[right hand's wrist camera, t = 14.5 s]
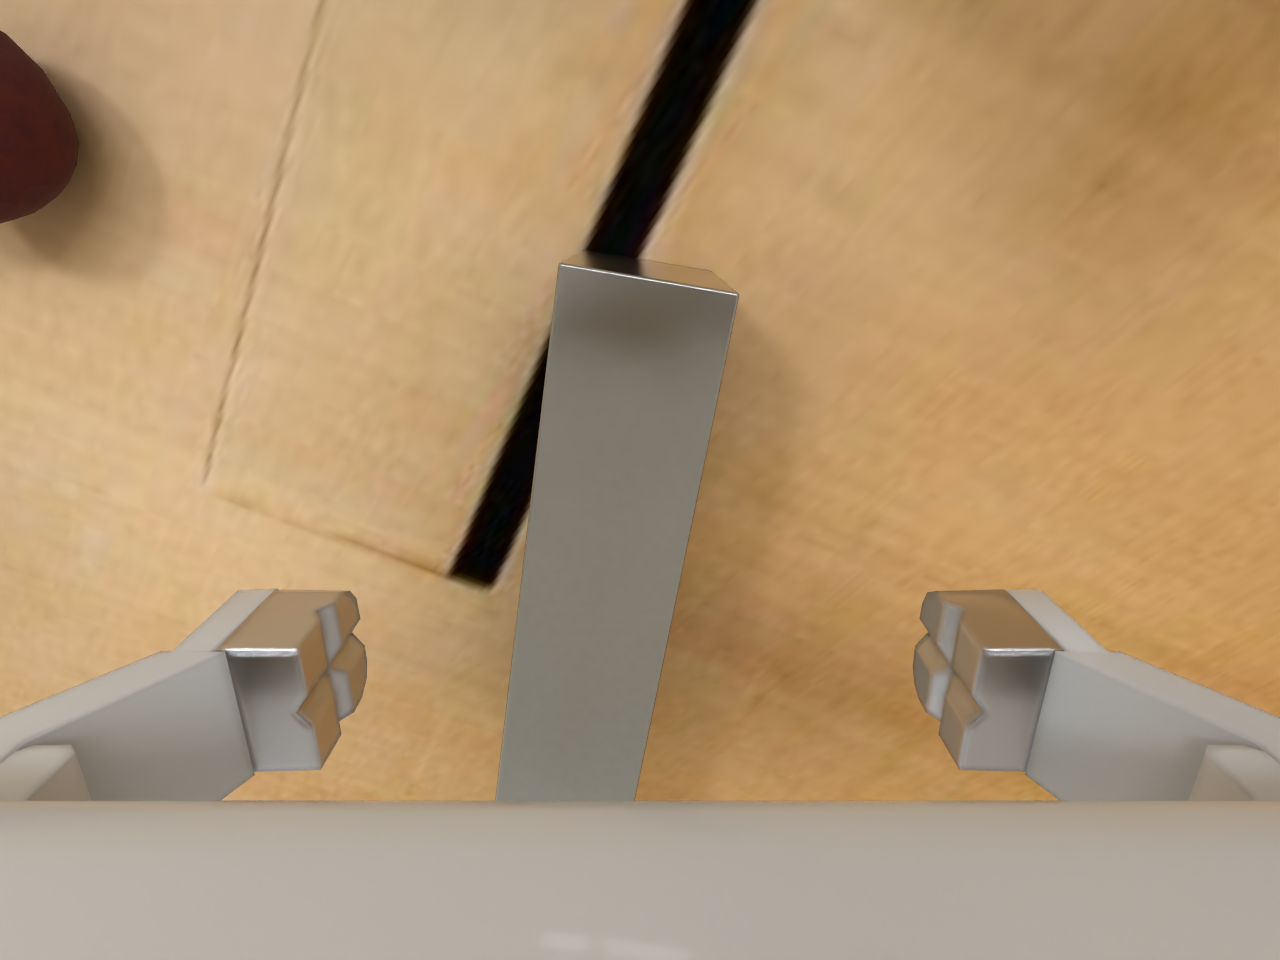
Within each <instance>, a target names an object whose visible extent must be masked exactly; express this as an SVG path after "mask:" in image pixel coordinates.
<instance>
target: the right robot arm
mask: <svg viewBox="0 0 1280 960" xmlns="http://www.w3.org/2000/svg"><path fill="white" fill-rule="evenodd" d="M359 620H360V615H359V610H358V605H357V599H356V597H355V596H354V595H353V594H352V593H351V592H350V591H329V590H278V589H253V590H240V591H237V592H236V593H235V594H234V595H233V596H232V597H231V598H230V599H228V600H227V601H226V602H225V603H224V604H223V605H222V606H221V607H220V608H219V609H218V610H217V611H215V612H214V613H213V614H212V615H211V616H210V617H209V618H208V619H207V620H206V621H205V622H204V623H203V624H201V625H200V626H199V627H198V628H197V629H196V630H195V631H194V632H193V633H192V634H191V635H190V636H188V637H187V638H186V639H185V640H184V641H183V642H182V643H181V644H180V645H179V646H178V647H177V648H175V649H174V650H173V651H160V652H158V653H155V654H153V655H151V656H148V657H146V658H143V659H141V660H138V661H136V662H133V663H131V664H129V665H126V666H124V667H121V668H119V669H116V670H114V671H112V672H109V673H107V674H104V675H102V676H99V677H97V678H95V679H92V680H90V681H87V682H85V683H82V684H80V685H77V686H75V687H73V688H70V689H68V690H65V691H63V692H60V693H58V694H56V695H53V696H51V697H48V698H46V699H43V700H41V701H38V702H36V703H34V704H31V705H29V706H26V707H24V708H21V709H19V710H17V711H14V712H12V713H9V714H7V715H4V716H2V717H0V960H1280V717H1278V716H1275V715H1273V714H1270V713H1268V712H1265V711H1263V710H1261V709H1258V708H1256V707H1253V706H1251V705H1248V704H1246V703H1244V702H1241V701H1239V700H1236V699H1234V698H1231V697H1229V696H1227V695H1224V694H1222V693H1219V692H1217V691H1214V690H1212V689H1210V688H1207V687H1205V686H1202V685H1200V684H1197V683H1195V682H1193V681H1190V680H1188V679H1185V678H1183V677H1180V676H1178V675H1176V674H1173V673H1171V672H1168V671H1166V670H1163V669H1161V668H1159V667H1156V666H1154V665H1151V664H1149V663H1146V662H1144V661H1142V660H1139V659H1137V658H1134V657H1132V656H1129V655H1127V654H1125V653H1122V652H1120V651H1107V650H1106V649H1105V648H1104V647H1102V646H1101V645H1100V644H1099V643H1098V642H1097V641H1096V640H1095V639H1094V638H1093V637H1092V636H1091V635H1089V634H1088V633H1087V632H1086V631H1085V630H1084V629H1083V628H1082V627H1081V626H1080V625H1079V624H1078V623H1077V622H1075V621H1074V620H1073V619H1072V618H1071V617H1070V616H1069V615H1068V614H1067V613H1066V612H1065V611H1064V610H1063V609H1061V608H1060V607H1059V606H1058V605H1057V604H1056V603H1055V602H1054V601H1053V600H1052V599H1051V598H1050V597H1049V596H1047V595H1046V594H1045V593H1044V592H1043V591H1040V590H1036V589H1015V590H965V591H934V592H927V594H926V596H925V598H924V601H923V603H922V608H921V614H920V620H921V622H922V623H923V625H924V626H925V628H926V629H927V631H928V633H927V634H926V635H925V636H924V637H923V638H922V639H921V640H920V641H919V642H918V644H917V645H916V646H915V652H914V661H913V674H914V684H915V688H916V691H917V695H918V698H919V700H920V702H921V704H922V706H923V708H924V709H925V711H926V712H927V713H928V714H930V715H932V716H933V717H935V718H936V719H938V720H940V721H941V724H940V729H939V736H940V737H941V739H942V741H943V743H944V744H945V746H946V748H947V749H948V751H949V753H950V754H951V756H952V758H953V760H954V761H955V763H956V765H957V766H958V768H959V770H984V771H1021V772H1026V773H1025V775H1027V776H1028V777H1029V778H1031V779H1032V780H1033V781H1035V782H1036V783H1037V784H1039V785H1040V786H1041V787H1043V788H1044V789H1045V790H1047V791H1048V792H1049V793H1050V794H1052V795H1053V796H1054V797H1056V798H1057V799H1058V800H1060V801H220V800H222V799H223V798H224V797H226V796H227V795H228V794H230V793H231V792H232V791H234V790H235V789H236V788H238V787H239V786H240V785H242V784H243V783H244V782H246V781H247V780H248V779H250V778H251V777H252V776H254V772H259V771H295V770H321V768H322V767H323V765H324V763H325V761H326V760H327V758H328V756H329V755H330V753H331V751H332V749H333V748H334V746H335V744H336V743H337V741H338V739H339V737H340V736H341V729H340V724H339V721H340V720H342V719H344V718H345V717H347V716H348V715H350V714H352V713H353V712H354V711H355V709H356V707H357V706H358V704H359V702H360V700H361V698H362V695H363V691H364V687H365V682H366V678H367V658H366V651H365V646H364V645H363V644H362V642H361V641H360V640H359V639H358V638H357V637H356V636H355V635H354V634H353V633H352V631H353V629H354V628H355V626H356V625H357V623H358V622H359Z"/></svg>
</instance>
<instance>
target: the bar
mask: <svg viewBox="0 0 1280 960" xmlns="http://www.w3.org/2000/svg"><path fill="white" fill-rule="evenodd" d="M738 299H739V293H737V292H736V291H735V290H734V289H733V288H731V287H730V286H729V285H728V284H726V283H725V282H724V281H723V280H722V279H720V278H719V277H718V276H717V275H716V274H714V273H713V272H712V271H708V270H702V269H696V268H690V267H684V266H679V265H673V264H667V263H661V262H655V261H649V260H644V259H638V258H632V257H626V256H620V255H614V254H609V253H603V252H597V251H591V250H585V249H584V250H582V251H580V252H578V253H576V254H575V255H573V256H571V257H570V258H568V259H566V260H564V261H563V262H561V263H559V266H558V274H557V283H556V291H555V300H554V308H553V317H552V325H551V334H550V342H549V350H548V359H547V367H546V376H545V384H544V393H543V401H542V410H541V418H540V426H539V435H538V443H537V452H536V460H535V469H534V477H533V486H532V494H531V503H530V511H529V519H528V528H527V536H526V545H525V553H524V562H523V570H522V579H521V587H520V595H519V604H518V612H517V621H516V629H515V638H514V646H513V655H512V663H511V672H510V680H509V688H508V697H507V705H506V714H505V722H504V731H503V739H502V748H501V756H500V764H499V773H498V781H497V790H496V798H495V801H635V796H636V791H637V787H638V782H639V777H640V772H641V767H642V763H643V758H644V753H645V748H646V743H647V738H648V734H649V729H650V724H651V719H652V714H653V709H654V705H655V700H656V695H657V690H658V685H659V680H660V676H661V671H662V666H663V661H664V656H665V652H666V647H667V642H668V637H669V632H670V627H671V623H672V618H673V613H674V608H675V603H676V598H677V594H678V589H679V584H680V579H681V574H682V569H683V565H684V560H685V555H686V550H687V545H688V540H689V536H690V531H691V526H692V521H693V516H694V512H695V507H696V502H697V497H698V492H699V487H700V483H701V478H702V473H703V468H704V463H705V458H706V454H707V449H708V444H709V439H710V434H711V429H712V425H713V420H714V415H715V410H716V405H717V400H718V396H719V391H720V386H721V381H722V376H723V372H724V367H725V362H726V357H727V352H728V347H729V343H730V338H731V333H732V328H733V323H734V318H735V314H736V309H737V304H738Z"/></svg>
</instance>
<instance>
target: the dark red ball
mask: <svg viewBox="0 0 1280 960" xmlns="http://www.w3.org/2000/svg"><path fill="white" fill-rule="evenodd" d="M78 145H79V143H78V139H77V136H76V132H75V129H74V125H73V122H72V119H71V115H70V113H69V111H68V109H67V108H66V106H65V105H64V103H63V101H62V100H61V98H60V97H59V95H58V94H57V92H56V90H55V89H54V87H53V86H52V84H51V82H50V81H49V79H48V78H47V76H46V74H45V73H44V71H43V70H42V69H41V68H40V67H39V66H38V65H37V64H36V63H35V62H34V61H33V60H32V59H31V58H30V57H29V56H28V55H27V54H26V53H25V52H24V51H23V50H22V49H21V48H20V47H19V46H18V45H17V44H16V43H15V42H14V41H13V40H12V39H11V38H10V37H9V36H8V35H7V34H5V33H3V32H2V31H0V223H3V222H7V221H10V220H14V219H17V218H20V217H23V216H26V215H29V214H32V213H35V212H36V211H38V210H39V209H41V208H42V207H44V206H45V205H46V204H48V203H49V202H50V201H52V200H53V199H54V198H56V197H57V196H58V195H59V194H60V193H61V191H62V190H63V189H64V187H65V186H66V185H67V184H68V182H69V180H70V178H71V176H72V174H73V171H74V169H75V167H76V165H77V156H78Z"/></svg>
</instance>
